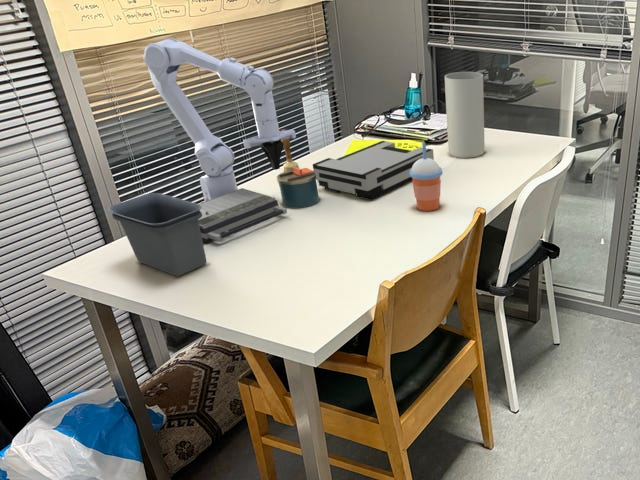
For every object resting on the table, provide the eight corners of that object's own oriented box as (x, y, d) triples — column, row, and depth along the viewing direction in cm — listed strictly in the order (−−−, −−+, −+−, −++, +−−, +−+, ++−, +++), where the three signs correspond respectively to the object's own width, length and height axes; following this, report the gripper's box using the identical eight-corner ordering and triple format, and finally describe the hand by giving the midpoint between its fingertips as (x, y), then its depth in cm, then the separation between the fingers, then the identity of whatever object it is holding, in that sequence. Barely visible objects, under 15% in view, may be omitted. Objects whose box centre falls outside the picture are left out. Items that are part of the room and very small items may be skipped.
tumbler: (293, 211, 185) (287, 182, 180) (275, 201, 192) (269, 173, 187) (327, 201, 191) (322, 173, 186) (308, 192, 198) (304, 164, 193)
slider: (299, 176, 186) (298, 170, 185) (293, 173, 188) (292, 167, 187) (313, 172, 188) (312, 166, 187) (307, 169, 191) (306, 163, 190)
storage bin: (121, 263, 159) (100, 207, 151) (176, 241, 170) (160, 187, 162) (174, 285, 149) (155, 226, 141) (230, 259, 160) (215, 203, 152)
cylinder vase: (444, 150, 229) (440, 73, 215) (478, 146, 232) (476, 70, 218) (454, 160, 219) (450, 81, 205) (489, 156, 222) (488, 77, 208)
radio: (240, 185, 189) (286, 198, 179) (244, 202, 192) (289, 216, 182) (163, 212, 173) (209, 228, 163) (169, 231, 176) (215, 248, 166)
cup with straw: (439, 214, 181) (435, 148, 170) (408, 212, 182) (402, 147, 172) (447, 202, 188) (444, 138, 178) (417, 200, 190) (412, 137, 179)
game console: (434, 171, 211) (432, 145, 206) (369, 203, 189) (365, 175, 184) (384, 161, 220) (382, 136, 216) (317, 191, 198) (312, 164, 194)
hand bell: (292, 187, 202) (281, 134, 193) (274, 182, 206) (264, 130, 197) (312, 179, 207) (303, 128, 198) (295, 175, 211) (285, 124, 202)
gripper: (247, 126, 171) (258, 177, 178) (297, 116, 178) (305, 165, 186) (235, 121, 175) (247, 171, 183) (285, 111, 183) (294, 160, 190)
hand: (275, 168), depth 185 cm, fingers closed
